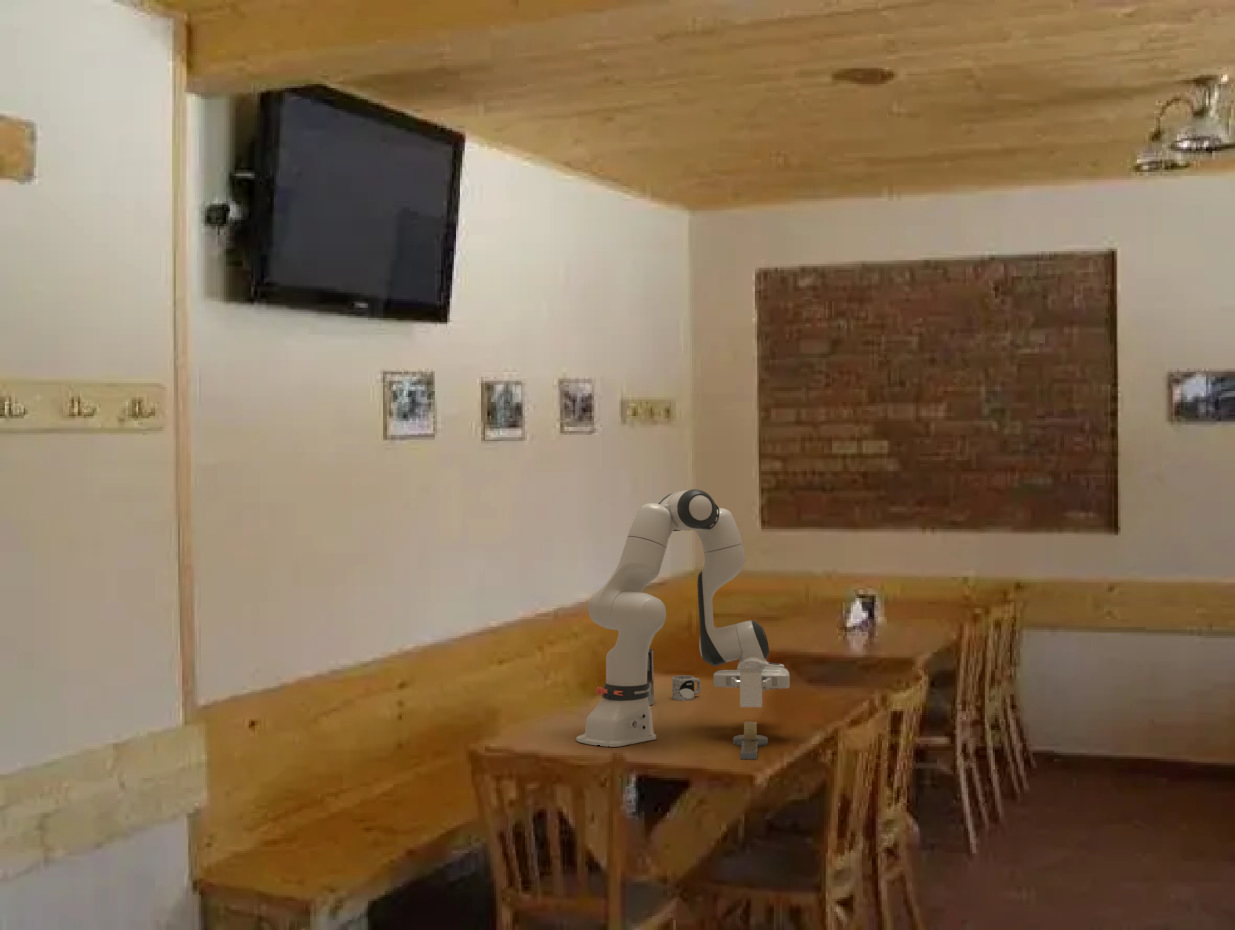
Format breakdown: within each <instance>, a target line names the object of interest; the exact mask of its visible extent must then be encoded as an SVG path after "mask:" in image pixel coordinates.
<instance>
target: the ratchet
mask: <svg viewBox="0 0 1235 930" xmlns="http://www.w3.org/2000/svg"><path fill="white" fill-rule="evenodd" d="M757 725H758V721H744V723H743V734H739V735H735V736H733V739H732V741H733V742H732V743H733V745H734V746H737V745H739V746H738V747H740V756H739V757H740V759H739V760H757V759H758V758H757V757H758V748H759V747H760V748H761V747H766V746H767V745H768V741H769V740H768V736H764V735H761V734H758V731H757V730H758V727H757Z"/></svg>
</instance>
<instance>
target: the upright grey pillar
mask: <svg viewBox="0 0 1235 930" xmlns="http://www.w3.org/2000/svg"><path fill="white" fill-rule="evenodd" d="M739 707H740V708H762V707H763V691H762V665H740V687H739Z"/></svg>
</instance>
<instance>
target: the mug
mask: <svg viewBox="0 0 1235 930" xmlns="http://www.w3.org/2000/svg"><path fill="white" fill-rule="evenodd" d="M671 679H672V683H671V684H672V686H671V687H672V693H671V695H672V697H671V698H672V700H674V701H679V702H680V701H681V702H687V701H688V700H689V701H694V700H695V696H696V695H698V694H699V693H701V688H702V685H701V684H702V682H701V679H700V678H698V677H695V676H693V675H686V674H684V675H683V674H682V675H681V674H680V675H673V676H672V678H671ZM695 682H696V684H697V686H696V687H697V688H696V690H695ZM693 699H694V700H693Z"/></svg>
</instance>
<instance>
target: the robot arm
mask: <svg viewBox="0 0 1235 930" xmlns="http://www.w3.org/2000/svg"><path fill="white" fill-rule="evenodd" d="M678 531H679V532H681V531H685V532H686V531H694V533H696V534H697V536H698V537H699V540H700V541H701V546H702V551H703V555H704V564H703V567H702V570H701V571H700V572H699V573H698V575H697V581H696V582H697V583H696V585H697V604H698V608H697V609H698V618H699V642H698V645H699V646H698V647H699V648H698V649H699V652H700V654H699V655H700V656H701V658H702V661H704V662H705V663H707V664H709V665H710V666H713V667H718V666H720V665H724V664H727V663H729V662H733V661H737V660H739V662H738V664H737V667H736V669H720V670H717V671H715V672H714V673H713V676H712V677H713V687H715V688H740V665H762V692H763V691H766V690H778V689H779V690H780V689H790V687H791V685H790V684H791V683H790V682H791V681H790V679H791V677H790V672H789V670H788V669H787V668H785V664H782V663H777V662H769V661H767V658H768V656H769V654H770V647H769V641H768V637H767V634H766V632H765V629H764V628H763V626H762V625H761V624H759V623H758V622H757V621H755V620H753V619H751V620H746V621H742V622H738V623H735V624H731V625H727V626H721V627H716V626H715V622H714V608H713V607H714V606H713V599H714V595H715V593H716V592H717V591H718V590H719V589H721V587H723V586H724V585H726V584H727V583H729V582H730V581H731V580H733V579H735V578H736V577H738V575H739V574H740V573H741V571H742V570H743V569H744V566H745V563H746V553H745V549H744V545H743V541H742V535H741V533H740V530H739V528H738V524H737V523H736V520H735V518H734V516H733V514H732V512H731V511H730V510H728V509H726V508H722V507H719V505H717V504H716V502H715V501H714V499H713V498H712V496H711V495H710V494H709V493H707V492H706V491H704V490H702V489H698V488H697V489H695V488H692V489H689V490H688V489H683V490H679V491H676V492H672V493H669V494H667V495H666V496H664V498H662V499H661V500H660V501H659V502H658V503H656V502H648V503H646V504H645V503H644V504H642V506H640V508H639V509H638V511H637V512H636V514H635V516H634V519H633V521H632V523H631V526H630V529H629V531H628V534H627V537H626V539H625V544H624V547H623V549H622V553H621V556H620V559H619V562H618V564H617V566H616V568H615V570H614V572H613V573H612V575H611V576H610V577H609V579H608V580H607V582H606V583H605V584H604V585H603V587H601V588H600V589H599V590H598V591H596V592H594V593H593V594H592V596H591V597H590V598H589V601H588V606H587V612H588V616H589V619H590V620H591V621H592V623H594V624H596V625H598V626H599V627H602V628H603V629H607V630H613V631H618V635H617V640H616V642H615V644H614V646H613V647H612V648H610V649H609V651H608V652H607V653H606V656H605V664H606V665H605V676H606V677H605V682H604V686H603V687H601V686H597V687H596V689H595V693H596V694H597V695H601V697H602V698H601V699H600V701H599V702H598V704H597V705H596V706H595V707H594V709H592V711H591V712H590V714H588V715H587V718H586V720H585V729H584V733H583V734H580V735H578V736H575V737H576V739H575V741H576V740H577V741H576V742H579V743H581V744H585V745H591V746H592V745H593V746H597V745H600V747H608V746H609V747H612V748H613V747H614V748H617V747H623V746H627V745H628V746H629V745H634V744H639V743H643V742H650V741H653V740H654V741H655V740H657V734H655V733H654V725H653V713H652V707H651V705H649V702H648V698H647V697H648V696H649V683H648V682H647V662H648V652H649V649H651V648H650V647H651V644H652V642H653V639H654V637H655V635H656V634H657V633H658V632H659V631H660V630H661V629H662V628H663V626H664V625H665V622H666V618H667V609H666V605H665V603H664V602H663V601H662V600H661V599H660V598H658V597H655V596H653V595H652V594H649V593H647V592H643V591H644V589H645V588H646V587H647V585H648V584H650V583H651V582H652V581H654V580H655V579H656V578H657V577H658V576H659V575H660V572H661V568H662V564H663V561H664V558H665V554H666V551H667V548H668V544H669V539H670V537H671V535H672V534H673V532H678Z"/></svg>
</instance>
